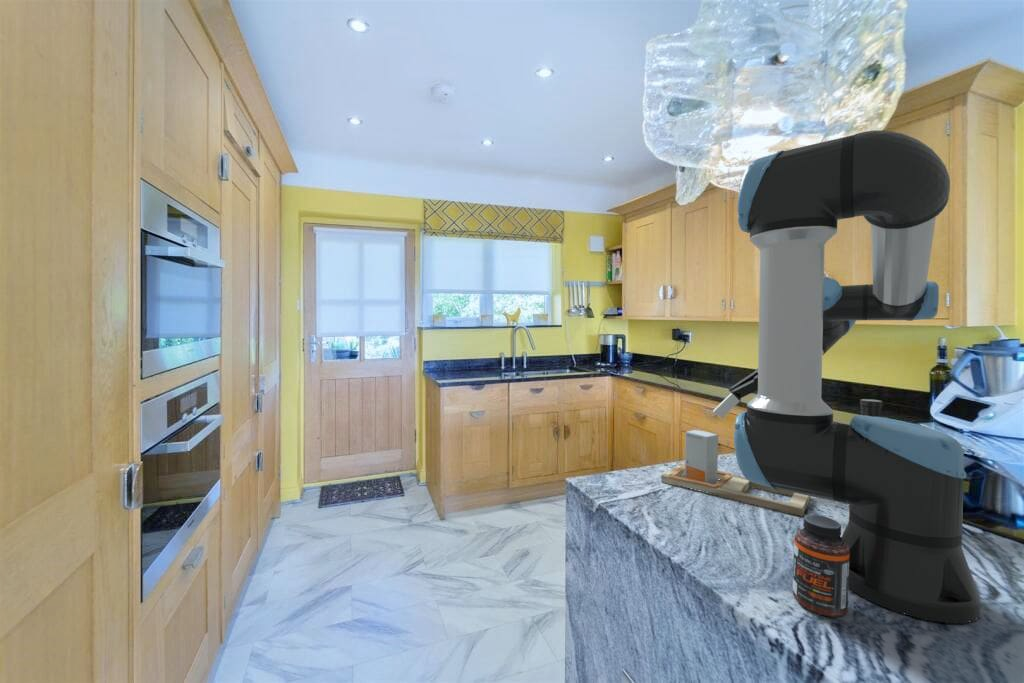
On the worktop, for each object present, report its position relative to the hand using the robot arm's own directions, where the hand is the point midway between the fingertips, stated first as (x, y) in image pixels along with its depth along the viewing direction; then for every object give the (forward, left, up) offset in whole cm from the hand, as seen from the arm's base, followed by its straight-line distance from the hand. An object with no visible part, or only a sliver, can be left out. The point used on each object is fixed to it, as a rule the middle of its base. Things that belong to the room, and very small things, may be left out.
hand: (730, 420), depth 101 cm
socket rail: (-5, -2, -15) cm, 16 cm away
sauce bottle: (+21, -25, -15) cm, 36 cm away
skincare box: (-5, +5, -15) cm, 17 cm away
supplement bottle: (-41, -22, -15) cm, 49 cm away
